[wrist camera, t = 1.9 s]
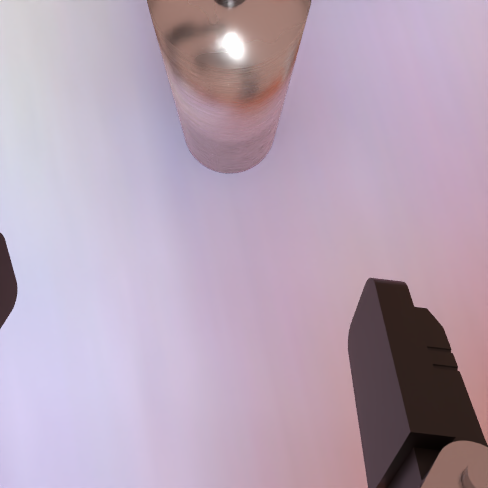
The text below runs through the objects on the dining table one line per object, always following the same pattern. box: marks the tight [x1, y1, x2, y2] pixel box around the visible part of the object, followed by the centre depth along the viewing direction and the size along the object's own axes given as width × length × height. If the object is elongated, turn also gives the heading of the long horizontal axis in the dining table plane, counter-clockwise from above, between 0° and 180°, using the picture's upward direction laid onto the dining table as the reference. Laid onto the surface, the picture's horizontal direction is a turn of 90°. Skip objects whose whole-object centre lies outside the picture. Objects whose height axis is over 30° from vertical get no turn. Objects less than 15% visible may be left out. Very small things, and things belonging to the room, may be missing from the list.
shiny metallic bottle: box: [147, 0, 311, 173], centre depth 18 cm, size 5×5×12 cm
